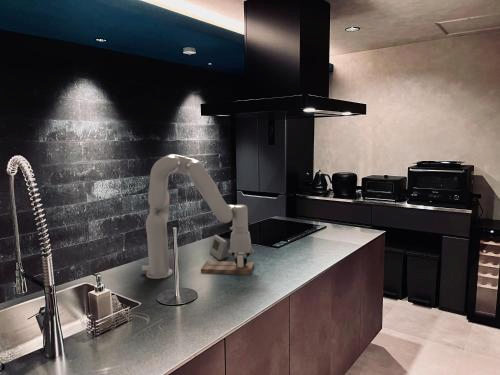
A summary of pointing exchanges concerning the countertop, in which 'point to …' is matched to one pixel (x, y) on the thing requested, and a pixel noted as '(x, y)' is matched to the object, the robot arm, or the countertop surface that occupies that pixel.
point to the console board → (226, 268)
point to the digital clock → (219, 248)
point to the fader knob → (240, 260)
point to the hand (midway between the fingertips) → (241, 264)
